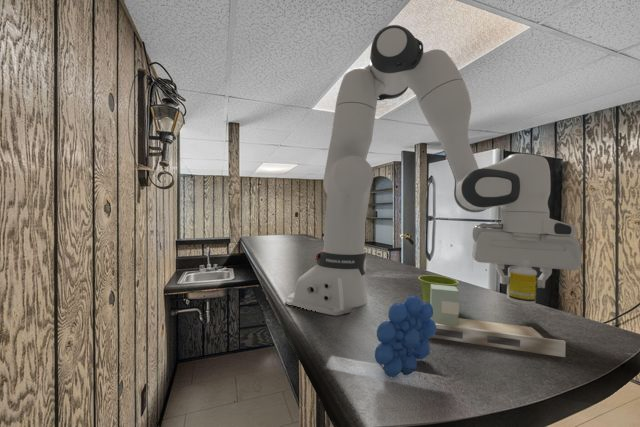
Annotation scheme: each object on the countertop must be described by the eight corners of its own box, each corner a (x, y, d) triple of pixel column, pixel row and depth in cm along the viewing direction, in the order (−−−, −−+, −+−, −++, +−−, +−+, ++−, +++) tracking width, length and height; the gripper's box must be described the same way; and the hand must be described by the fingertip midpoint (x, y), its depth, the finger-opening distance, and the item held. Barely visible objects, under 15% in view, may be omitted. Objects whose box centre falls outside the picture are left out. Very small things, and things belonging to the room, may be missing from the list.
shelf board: (424, 344, 53) (425, 323, 53) (421, 319, 65) (421, 302, 65) (565, 366, 46) (565, 342, 46) (531, 334, 59) (532, 315, 59)
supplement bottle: (541, 306, 60) (543, 261, 60) (513, 303, 61) (514, 259, 61) (527, 298, 65) (529, 257, 65) (502, 296, 66) (504, 255, 66)
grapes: (413, 353, 49) (415, 285, 49) (445, 373, 43) (447, 296, 43) (358, 367, 44) (360, 292, 44) (386, 392, 38) (388, 305, 38)
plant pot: (456, 311, 72) (457, 277, 72) (458, 323, 63) (459, 285, 64) (419, 305, 76) (419, 273, 76) (415, 316, 67) (416, 281, 67)
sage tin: (458, 331, 56) (459, 291, 56) (431, 327, 57) (432, 288, 57) (455, 323, 59) (455, 286, 59) (429, 320, 61) (430, 284, 61)
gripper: (476, 223, 63) (473, 283, 63) (587, 228, 57) (584, 294, 57) (470, 222, 69) (468, 277, 69) (570, 227, 63) (567, 287, 63)
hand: (521, 285), depth 63 cm, fingers closed on supplement bottle, 5 cm apart
